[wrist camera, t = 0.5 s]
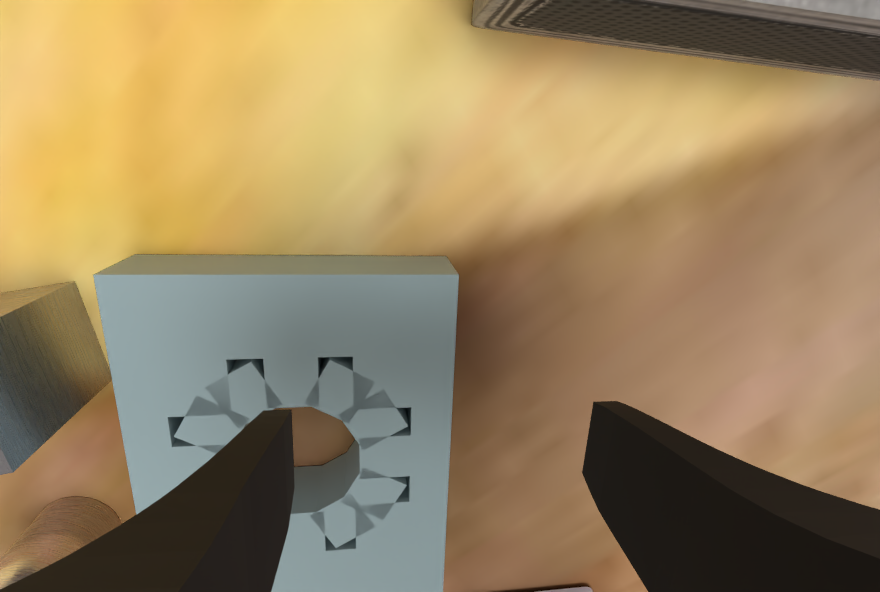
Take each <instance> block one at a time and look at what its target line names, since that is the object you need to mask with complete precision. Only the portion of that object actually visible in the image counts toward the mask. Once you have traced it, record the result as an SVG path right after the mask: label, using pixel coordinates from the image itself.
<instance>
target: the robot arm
mask: <svg viewBox="0 0 880 592" xmlns="http://www.w3.org/2000/svg"><path fill="white" fill-rule="evenodd" d="M582 473H583V476H584V478H585V481H586V483H587V485H588V488H589V490H590V493H591V495H592V497H593V499H594V501H595V503H596V506H597V508H598V510H599V512H600V513H601V515H602V517H603V519H604V520H605V522H606V524H607V525H608V527H609V529H610V530H611V532H612V533H613V535H614V537H615V538H616V540H617V542H618V543H619V545H620V547H621V548H622V550H623V551H624V553H625V555H626V556H627V558H628V559H629V561H630V563H631V564H632V566H633V568H634V569H635V571H636V572H637V574H638V576H639V577H640V579H641V580H642V582H643V584H644V585H645V587H646V589H647V590H648V592H880V510H879V509H875V508H872V507H868V506H865V505H862V504H858V503H855V502H852V501H849V500H846V499H843V498H840V497H836V496H833V495H830V494H827V493H824V492H821V491H818V490H815V489H812V488H810V487H807V486H804V485H801V484H798V483H796V482H793V481H791V480H788V479H786V478H783V477H780V476H778V475H775V474H773V473H770V472H767V471H765V470H762V469H760V468H758V467H755V466H753V465H751V464H748V463H746V462H744V461H742V460H739V459H737V458H735V457H733V456H731V455H728V454H726V453H724V452H722V451H720V450H717V449H715V448H713V447H711V446H709V445H707V444H705V443H703V442H701V441H699V440H697V439H695V438H693V437H691V436H689V435H687V434H685V433H683V432H681V431H679V430H677V429H675V428H673V427H671V426H669V425H667V424H665V423H663V422H661V421H659V420H657V419H655V418H653V417H651V416H649V415H647V414H645V413H643V412H641V411H639V410H637V409H635V408H633V407H630V406H628V405H626V404H623V403H620V402H618V401H608V402H594V403H593V409H592V415H591V421H590V428H589V434H588V440H587V446H586V453H585V459H584V465H583V471H582ZM294 488H295V483H294V459H293V435H292V412H291V410H263V411H262V412H261V413H260V414H259V415H258V416H257V417H255V418H254V419H253V420H252V421H251V422H250V423H249V424H248V425H247V426H246V427H245V428H244V429H243V430H242V431H240V432H239V433H238V434H237V435H236V436H235V437H234V438H233V439H232V440H231V441H230V442H229V443H228V444H227V445H225V446H224V447H223V448H222V449H221V450H220V451H219V452H218V453H216V454H215V455H214V456H213V457H212V458H211V459H210V460H209V461H207V462H206V463H205V464H204V465H202V466H201V467H200V468H199V469H198V470H196V471H195V472H194V473H193V474H191V475H190V476H189V477H188V478H186V479H185V480H184V481H183V482H181V483H180V484H179V485H178V486H176V487H175V488H174V489H172V490H171V491H170V492H168V493H167V494H166V495H164V496H163V497H161V498H160V499H159V500H157V501H156V502H154V503H153V504H151V505H150V506H149V507H147V508H146V509H144V510H143V511H141V512H140V513H138V514H137V515H135V516H134V517H132V518H131V519H129V520H127V521H126V522H124V523H123V524H121V525H119V526H118V527H116V528H114V529H113V530H111V531H109V532H107V533H106V534H104V535H102V536H100V537H99V538H97V539H95V540H94V541H92V542H90V543H88V544H87V545H85V546H83V547H82V548H80V549H78V550H76V551H75V552H73V553H71V554H69V555H68V556H66V557H64V558H62V559H60V560H58V561H56V562H54V563H52V564H50V565H49V566H47V567H45V568H43V569H41V570H39V571H37V572H35V573H33V574H31V575H29V576H27V577H25V578H23V579H21V580H19V581H17V582H14V583H12V584H10V585H8V586H6V587H4V588H2V589H0V592H271V591H272V587H273V584H274V580H275V576H276V573H277V569H278V566H279V562H280V558H281V555H282V551H283V547H284V544H285V540H286V536H287V532H288V528H289V522H290V515H291V509H292V502H293V495H294ZM536 592H593V590H592V589H591V588H590V587H576V588H566V589H556V590H546V591H536Z"/></svg>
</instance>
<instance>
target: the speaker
mask: <svg viewBox="0 0 880 592" xmlns="http://www.w3.org/2000/svg"><path fill="white" fill-rule="evenodd" d="M472 25H473V26H475V27H478V28H483V29H490V30H498V31H505V32H513V33H521V34H528V35H536V36H543V37H551V38H558V39H566V40H573V41H581V42H588V43H596V44H604V45H611V46H619V47H626V48H634V49H641V50H649V51H656V52H664V53H671V54H679V55H687V56H694V57H702V58H709V59H717V60H724V61H732V62H739V63H747V64H754V65H762V66H770V67H777V68H785V69H792V70H800V71H807V72H815V73H822V74H830V75H838V76H845V77H853V78H861V79H869V80H876V81H880V0H474V2H473V14H472Z"/></svg>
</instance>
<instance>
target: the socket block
mask: <svg viewBox="0 0 880 592" xmlns="http://www.w3.org/2000/svg"><path fill="white" fill-rule="evenodd" d="M93 276H94V282H95V287H96V293H97V298H98V304H99V310H100V315H101V321H102V326H103V332H104V337H105V343H106V348H107V354H108V359H109V365H110V371H111V376H112V382H113V387H114V393H115V398H116V404H117V409H118V415H119V421H120V426H121V432H122V437H123V443H124V448H125V454H126V459H127V465H128V470H129V476H130V482H131V487H132V493H133V498H134V504H135V509H136V515H137V514H138V513H140V512H141V511H143V510H144V509H146V508H147V507H149V506H150V505H151V504H153V503H154V502H156V501H157V500H159V499H160V498H161V497H163V496H164V495H166V494H167V493H168V492H170V491H171V490H172V489H174V488H175V487H176V486H178V485H179V484H180V483H181V482H183V481H184V480H185V479H186V478H188V477H189V476H190V475H191V474H193V473H194V472H195V471H196V470H198V469H199V468H200V467H201V466H202V465H204V464H205V463H206V462H207V461H209V460H210V459H211V458H212V457H213V456H214V455H215V454H216V453H218V452H219V451H220V450H221V449H222V448H223V447H224V446H225V445H227V444H228V443H229V442H230V441H231V440H232V439H233V438H234V437H235V436H236V435H237V434H238V433H239V432H240V431H242V430H243V429H244V428H245V427H246V426H247V425H248V424H249V422H251V421H252V420H253V419H254V418H255V417H257V416H258V415H259V414H260V413H261V412H262V411H263V410H273V409H275V408H289V407H313V408H315V409H318V410H320V411H322V412H324V413H327V414H329V415H331V416H333V417H335V418H338V419H340V420H342V421H343V423H344V424H345V425H346V427H347V428H348V430H349V431H350V432H351V434H352V435H353V436H354V438H355V440H354V442H353V443H352V445H351V447H350V448H349V450H348V451H347V452H346V453H344V454H343V455H341V456H339V457H337V458H335V459H334V460H332V461H330V462H328V463H326V464H324V465H322V466H304V467H294V483H295V488H294V495H293V502H292V509H291V515H290V522H289V528H288V532H287V536H286V540H285V544H284V547H283V551H282V555H281V558H280V562H279V566H278V569H277V573H276V576H275V580H274V584H273V587H272V591H271V592H443V579H444V559H445V539H446V520H447V500H448V480H449V460H450V441H451V421H452V401H453V381H454V362H455V342H456V322H457V302H458V283H459V274H458V273H457V271H456V270H455V268H454V267H453V265H452V264H451V262H450V261H449V260H448V258H447V257H446V256H336V255H152V254H135V255H133V256H131V257H129V258H127V259H125V260H123V261H120V262H118V263H116V264H114V265H112V266H110V267H108V268H106V269H104V270H102V271H100V272H98V273H96V274H94V275H93Z"/></svg>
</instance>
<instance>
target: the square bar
mask: <svg viewBox="0 0 880 592" xmlns="http://www.w3.org/2000/svg"><path fill="white" fill-rule="evenodd" d="M111 380H112V376H111V372H110V369H109V367H108V364H107V362H106V359H105V357H104V354H103V351H102V349H101V346H100V344H99V341H98V339H97V336H96V334H95V331H94V329H93V326H92V324H91V321H90V318H89V316H88V313H87V311H86V308H85V306H84V303H83V301H82V298H81V296H80V293H79V290H78V288H77V285H76V283H75V281H73V282H67V283H60V284H54V285H48V286H42V287H36V288H29V289H23V290H17V291H11V292H4V293H0V475H2V474H7V473H13V472H14V471H15V470H16V469H17V468H18V467H19V466H20V465H21V464H22V463H24V462H25V461H26V460H27V459H28V458H29V457H30V456H31V455H32V454H33V453H34V452H35V451H36V450H37V449H39V448H40V447H41V446H42V445H43V444H44V443H45V442H46V441H47V440H48V439H49V438H50V437H51V436H52V435H53V434H55V433H56V432H57V431H58V430H59V429H60V428H61V427H62V426H63V425H64V424H65V423H66V422H67V421H68V420H69V419H71V418H72V417H73V416H74V415H75V414H76V413H77V412H78V411H79V410H80V409H81V408H82V407H83V406H84V405H85V404H87V403H88V402H89V401H90V400H91V399H92V398H93V397H94V396H95V395H96V394H97V393H98V392H99V391H100V390H101V389H103V388H104V387H105V386H106V385H107V384H108V383H109V382H110V381H111Z"/></svg>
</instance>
